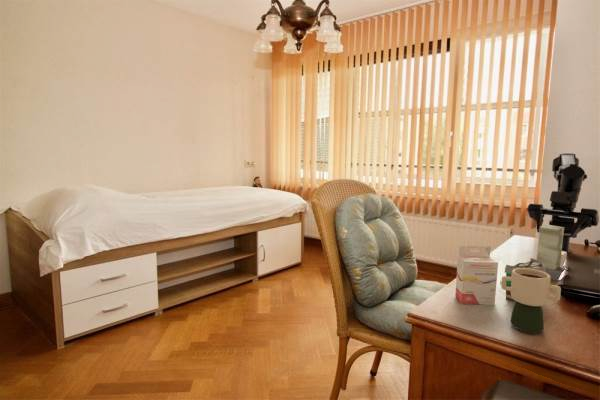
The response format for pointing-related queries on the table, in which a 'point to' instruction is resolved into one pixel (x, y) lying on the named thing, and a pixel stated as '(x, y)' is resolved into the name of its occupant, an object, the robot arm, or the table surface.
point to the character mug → (529, 297)
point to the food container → (531, 265)
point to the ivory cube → (563, 257)
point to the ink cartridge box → (476, 276)
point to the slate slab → (555, 272)
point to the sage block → (550, 246)
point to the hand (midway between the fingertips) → (554, 234)
